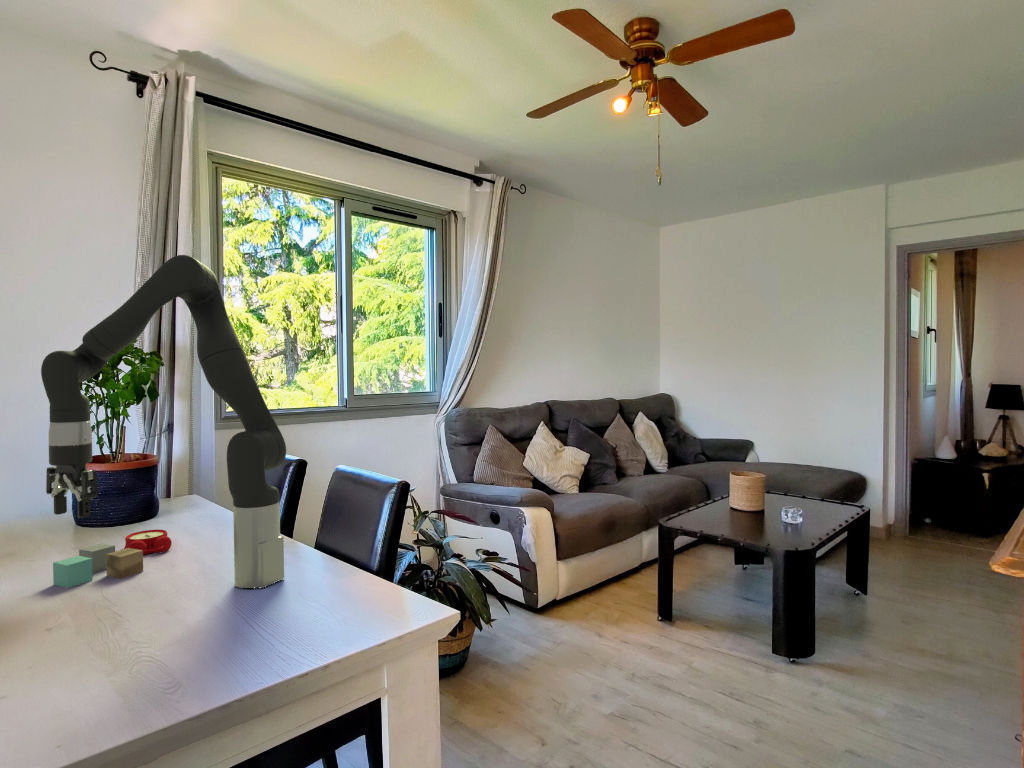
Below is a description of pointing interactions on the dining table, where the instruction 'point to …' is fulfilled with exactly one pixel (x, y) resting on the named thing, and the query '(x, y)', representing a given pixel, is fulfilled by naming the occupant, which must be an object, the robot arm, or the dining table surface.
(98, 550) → the grey-green rectangular block
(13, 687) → the dining table surface
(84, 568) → the teal block
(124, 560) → the brass block
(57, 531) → the dining table surface
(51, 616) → the dining table surface
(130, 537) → the alarm clock
